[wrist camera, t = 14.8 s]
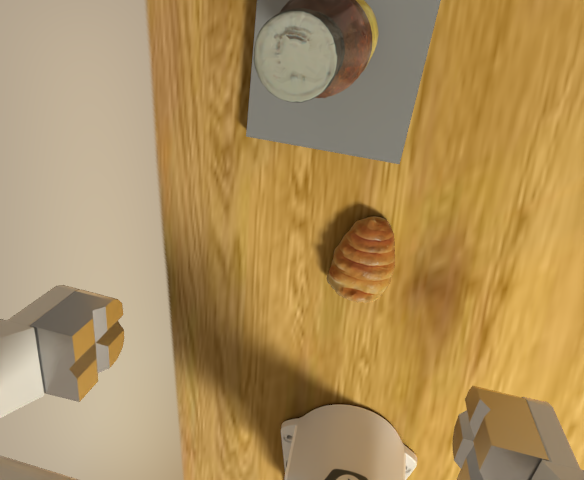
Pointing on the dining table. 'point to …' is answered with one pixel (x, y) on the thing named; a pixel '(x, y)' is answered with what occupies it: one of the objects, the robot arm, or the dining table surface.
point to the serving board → (354, 90)
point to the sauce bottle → (315, 48)
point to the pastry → (364, 260)
